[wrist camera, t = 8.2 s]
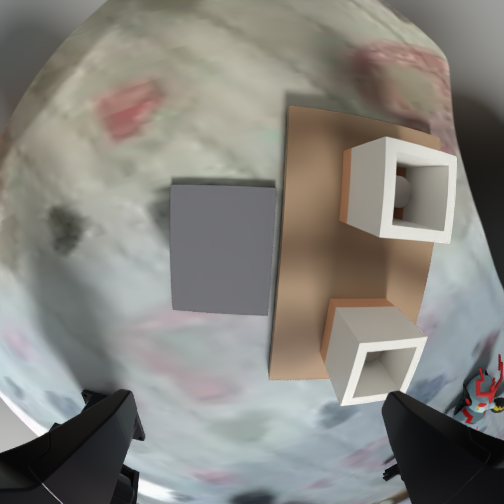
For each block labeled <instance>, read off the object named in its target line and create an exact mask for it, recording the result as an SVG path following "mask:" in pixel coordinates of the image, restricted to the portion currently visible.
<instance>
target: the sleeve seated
mask: <svg viewBox="0 0 504 504" xmlns="http://www.w3.org/2000/svg"><path fill="white" fill-rule="evenodd" d="M427 337H428V336H426V335H425V334H424V333H423V332H422V331H421V330H420V329H419V328H418V327H417V326H416V325H415V324H414V323H413V322H412V321H410V320H409V319H408V318H407V317H406V316H405V315H404V314H403V313H402V312H401V311H400V310H398V309H397V308H396V307H395V306H394V305H393V304H392V303H391V302H390V301H389V300H387V299H386V298H375V299H330V301H329V307H328V313H327V319H326V325H325V330H324V335H323V341H322V346H321V351H320V354H321V357H322V359H323V362H324V364H325V367H326V370H327V372H328V375H329V377H330V380H331V382H332V385H333V388H334V390H335V393H336V395H337V398H338V401H339V403H340V406H345V405H354V404H361V403H368V402H375V401H381V400H386V397H387V395H388V393H389V392H392V391H397V390H399V391H401V392H403V393H406V390H407V388H408V386H409V384H410V381H411V379H412V377H413V374H414V372H415V370H416V367H417V365H418V362H419V359H420V357H421V354H422V351H423V349H424V346H425V343H426V340H427ZM374 351H382V352H381V354H380V355H379V356H378V358H376V359H375V360H373V361H371V362H364V361H365V358H366V354H367V352H374Z"/></svg>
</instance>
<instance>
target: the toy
mask: <svg viewBox="0 0 504 504" xmlns="http://www.w3.org/2000/svg"><path fill="white" fill-rule="evenodd" d="M498 370H499V371H500V370H501V374H500V379H499V381H498V383H497V384H496V386H494V384H495V381H494V380H495V378H494V377H493V380H492V379H491V378H490V377H489V376H488V373H487V371H486V370H485V375H483V373H482V370H481V368H480V367H479V371H480V375H478V376H476V377H474V378H473V379H472V380H470V381H469V383H468V385H467V387H465V385H464V384H463V394H464V398H465V403H466V406H465V407H463V408H462V409H461V410H460V411H459V412H458V413H457V414H456V415H455V416H454V417H453V419H455V420H457V421H459V422H461V423H463V424H465V425H467V427H468V426H469V427H471V428H473V429H475V430H477V431H478V430H479V429H480V428H481V426H482V424H483V421H484V419H485V416H486V411H487V410H489V409H490V410H491V411H492V412H494V413H500V412H502V411H504V398H502V397H501V398H496V399H494V400H493V398H494V395H495V392H496V390H497V389H498V387H499V385H500V383H501V381H502V379H503V362H501V356H500V354H499V366H498ZM384 475H386V476H384ZM396 475H400V476H401V479H402V480H403V477H402V475H401V472H400V469H399V467H398V464H395V465H393V466H391V467H390V468H388V469H386V470H385V473H383V476H384V477H383V479H385V481H388V480H390V479H391V478H393V477H394V476H396ZM403 481H404V480H403Z"/></svg>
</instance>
